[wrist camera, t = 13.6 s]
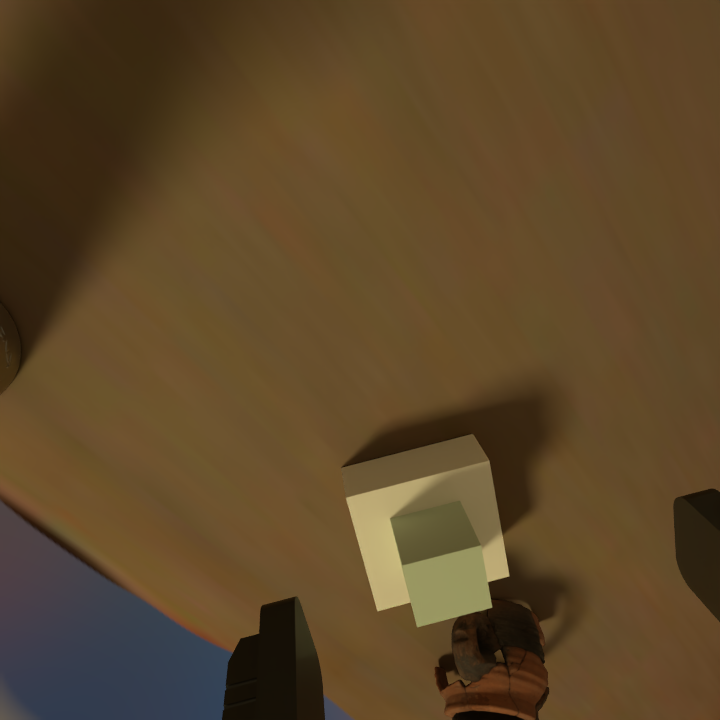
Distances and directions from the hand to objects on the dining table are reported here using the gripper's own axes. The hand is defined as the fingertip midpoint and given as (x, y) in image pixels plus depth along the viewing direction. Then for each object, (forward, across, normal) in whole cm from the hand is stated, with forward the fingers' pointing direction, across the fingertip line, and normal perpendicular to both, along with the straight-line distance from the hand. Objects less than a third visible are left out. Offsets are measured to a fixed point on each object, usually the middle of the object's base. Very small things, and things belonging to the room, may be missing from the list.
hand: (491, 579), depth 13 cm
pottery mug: (+30, -4, +33) cm, 45 cm away
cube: (+26, -1, +19) cm, 32 cm away
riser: (+30, -1, +19) cm, 36 cm away
